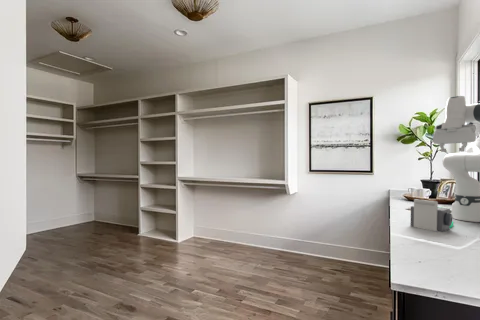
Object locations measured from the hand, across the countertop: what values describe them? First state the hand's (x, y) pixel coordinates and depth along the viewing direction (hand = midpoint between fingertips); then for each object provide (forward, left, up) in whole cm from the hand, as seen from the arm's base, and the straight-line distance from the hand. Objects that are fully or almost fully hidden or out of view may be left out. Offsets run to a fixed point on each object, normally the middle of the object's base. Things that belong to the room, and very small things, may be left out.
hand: (452, 151), depth 152 cm
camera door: (+24, -3, -38) cm, 45 cm away
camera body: (+19, -3, -39) cm, 44 cm away
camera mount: (+8, -1, -40) cm, 40 cm away
